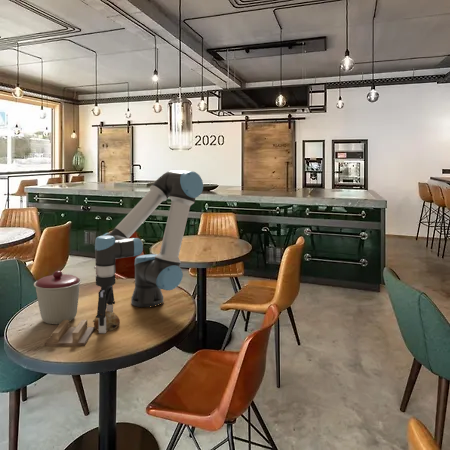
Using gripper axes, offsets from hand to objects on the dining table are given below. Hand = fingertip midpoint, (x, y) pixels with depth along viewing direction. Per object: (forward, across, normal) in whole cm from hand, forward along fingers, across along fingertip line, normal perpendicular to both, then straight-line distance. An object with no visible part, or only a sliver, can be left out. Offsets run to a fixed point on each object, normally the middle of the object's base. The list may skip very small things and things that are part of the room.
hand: (106, 326), depth 158 cm
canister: (0, -7, -21) cm, 22 cm away
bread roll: (+1, 0, 0) cm, 1 cm away
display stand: (0, +10, -11) cm, 15 cm away
